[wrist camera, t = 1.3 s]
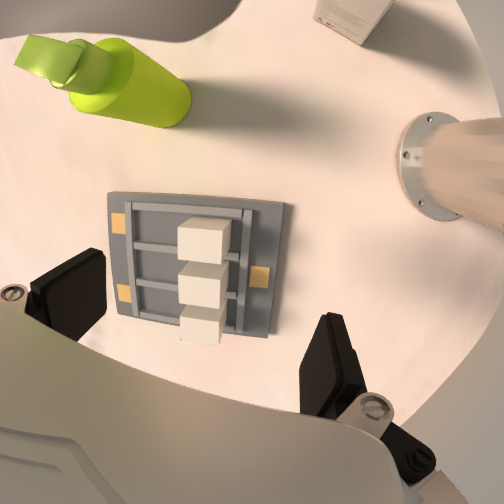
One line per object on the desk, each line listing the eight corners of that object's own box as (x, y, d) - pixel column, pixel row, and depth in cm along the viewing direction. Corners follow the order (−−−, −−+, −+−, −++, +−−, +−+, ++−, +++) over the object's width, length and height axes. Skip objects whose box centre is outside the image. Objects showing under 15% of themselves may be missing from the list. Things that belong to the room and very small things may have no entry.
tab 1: (232, 219, 28) (222, 231, 23) (230, 247, 29) (220, 264, 24) (193, 215, 28) (177, 226, 24) (193, 243, 29) (177, 259, 24)
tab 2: (229, 260, 29) (220, 280, 25) (228, 286, 30) (219, 308, 26) (193, 256, 30) (177, 274, 25) (193, 281, 31) (179, 303, 26)
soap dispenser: (181, 141, 27) (39, 125, 8) (134, 115, 27) (-11, 92, 8) (209, 94, 25) (103, 7, 6) (160, 71, 25) (35, 2, 6)
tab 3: (227, 298, 31) (219, 322, 26) (226, 320, 32) (218, 346, 27) (193, 293, 31) (179, 316, 26) (193, 315, 32) (181, 340, 27)
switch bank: (283, 202, 28) (283, 205, 27) (267, 332, 34) (267, 342, 32) (112, 191, 30) (103, 193, 28) (121, 309, 35) (115, 316, 33)
